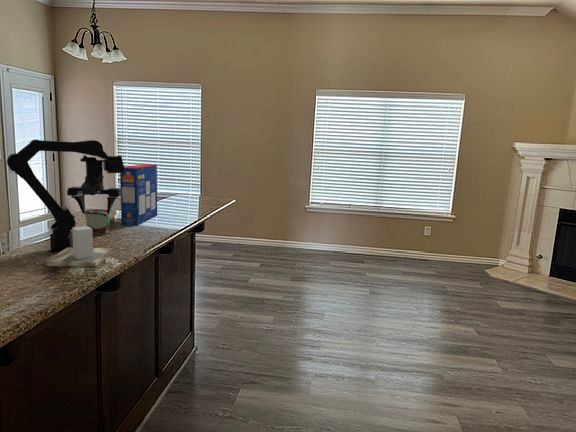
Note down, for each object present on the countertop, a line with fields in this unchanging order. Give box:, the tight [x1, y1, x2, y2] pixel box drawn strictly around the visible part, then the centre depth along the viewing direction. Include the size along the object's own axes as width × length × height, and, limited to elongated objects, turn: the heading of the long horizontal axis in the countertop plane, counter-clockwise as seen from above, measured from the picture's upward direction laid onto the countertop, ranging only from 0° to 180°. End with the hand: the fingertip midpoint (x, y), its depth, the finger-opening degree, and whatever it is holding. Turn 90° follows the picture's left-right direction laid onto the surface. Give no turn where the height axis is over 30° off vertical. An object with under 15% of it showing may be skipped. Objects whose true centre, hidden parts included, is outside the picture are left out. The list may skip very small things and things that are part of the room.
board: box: [44, 247, 113, 267], centre depth 148 cm, size 16×18×2 cm
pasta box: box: [119, 163, 158, 227], centre depth 216 cm, size 28×8×28 cm, turn 178°
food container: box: [83, 208, 112, 236], centre depth 187 cm, size 12×6×10 cm, turn 74°
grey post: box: [71, 225, 94, 259], centre depth 144 cm, size 5×5×10 cm
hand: (96, 213), depth 162 cm, fingers open, 9 cm apart
